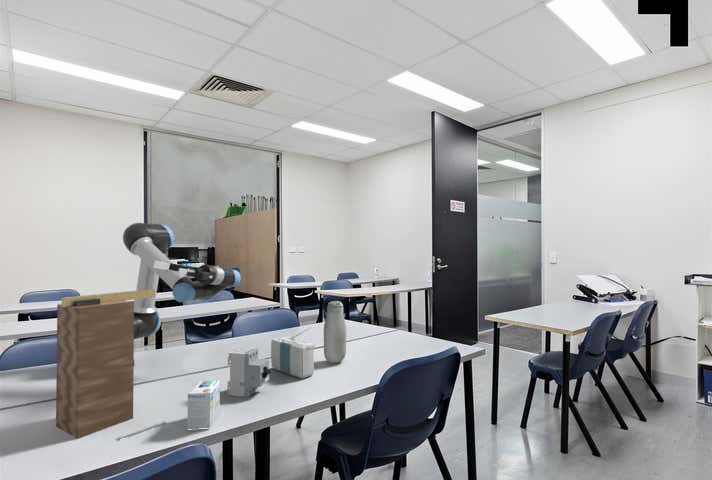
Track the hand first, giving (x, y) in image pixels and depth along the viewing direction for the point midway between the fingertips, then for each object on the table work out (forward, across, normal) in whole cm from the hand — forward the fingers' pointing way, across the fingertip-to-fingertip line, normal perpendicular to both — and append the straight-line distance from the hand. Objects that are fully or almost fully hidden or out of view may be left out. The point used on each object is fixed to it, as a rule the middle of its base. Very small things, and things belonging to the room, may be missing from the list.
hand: (165, 268), depth 139 cm
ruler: (+13, +27, +45) cm, 54 cm away
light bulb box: (+2, +38, +40) cm, 55 cm away
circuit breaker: (-22, +34, +36) cm, 55 cm away
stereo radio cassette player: (-47, +35, +32) cm, 67 cm away
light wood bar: (+18, +2, +13) cm, 22 cm away
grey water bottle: (-66, +44, +26) cm, 84 cm away
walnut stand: (+15, +9, +48) cm, 51 cm away
